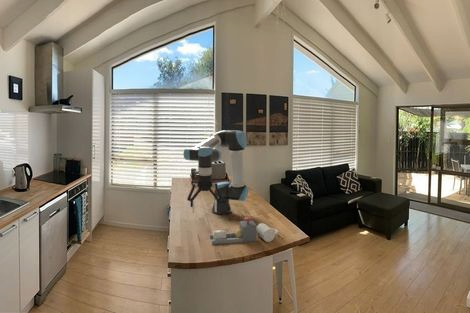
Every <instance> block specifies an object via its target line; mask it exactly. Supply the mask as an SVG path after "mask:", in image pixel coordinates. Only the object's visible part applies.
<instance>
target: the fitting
mask: <svg viewBox="0 0 470 313" xmlns="http://www.w3.org/2000/svg"><path fill="white" fill-rule="evenodd" d="M226 233H227V231H226V229H222V230H213V231H212V234H213V240H216V239H226Z"/></svg>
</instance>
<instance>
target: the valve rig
mask: <svg viewBox="0 0 470 313" xmlns="http://www.w3.org/2000/svg"><path fill="white" fill-rule="evenodd" d="M257 226H258V225H257V224H256V223H255V222H254V220H253V217H251V216H245V217H243V220H239V229H238V228H236V229H235V232H226V239H216V240H213V233H209V240H210V243H211V245H222V244H236V243H237V244H239V243H240V244H241V243H251V242H253V243H254V242H257V234H256V232H257Z"/></svg>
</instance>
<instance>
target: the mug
mask: <svg viewBox="0 0 470 313" xmlns="http://www.w3.org/2000/svg"><path fill="white" fill-rule="evenodd" d="M256 226H257V232H256V236H258V237H260V238H261V239H262V240H264V241H265V242H266V243H270V242H272V241H273V240H274V239H275V237H276V235H278V233H279V230H277V229H275V228H272V227H270V226H268V225H267V224H265V223H258V225H256Z"/></svg>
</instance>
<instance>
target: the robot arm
mask: <svg viewBox="0 0 470 313" xmlns="http://www.w3.org/2000/svg"><path fill="white" fill-rule="evenodd" d="M247 146H248V139H247V135H246V133H245V131H242V130H220V131H216V132H214V133H212V134H211V135H210V136H209V137H208V138H207V139H205V140H204V141H201V142H200V143H199V144H197V145H195V146H193V147H186V148H185V149H184V151H183V152H182V153H183V155H182V156H183V158H184V160H186V161H195V162H198V165H197V166H198V167H197V172H198V176H197V183H194V182H193V183H192V187H191V189H190V191H189V194H188V196H187V198H186V199H187V201H189V202H190V208H192V214H194V213H195V199H197V197H198V195H199V194H200V193H201V191H202V192H210V193H211V195H212V196H213V197H214V198H213V200H214V201H213V205H212V207H211V213H212V214H216V215H227V214H230V213H231V212H232V207H231V204H230V201H237V202H245V201H246V200H247V198H248V194H249V186H248V185H247V183H246V182H245V181H244V162H243V159H244V158H243V152H244V150H245V149H246V147H247ZM219 147H228V151H229V152H230V163H231V165H230V166H231V183H230V181H220V182H214V183H213V179H212V176H213V175H212V174H213V173H212V172H213V170H212V169H213V163H216V162H218V161H219V160H221V158H222V153H221V150H220V149H219ZM217 148H218V149H217ZM197 187H198V188H197ZM212 187H214V189H213V190H212ZM196 188H197V189H196ZM195 189H196V192H195V193H194V191H195ZM193 193H194V194H193Z"/></svg>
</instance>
